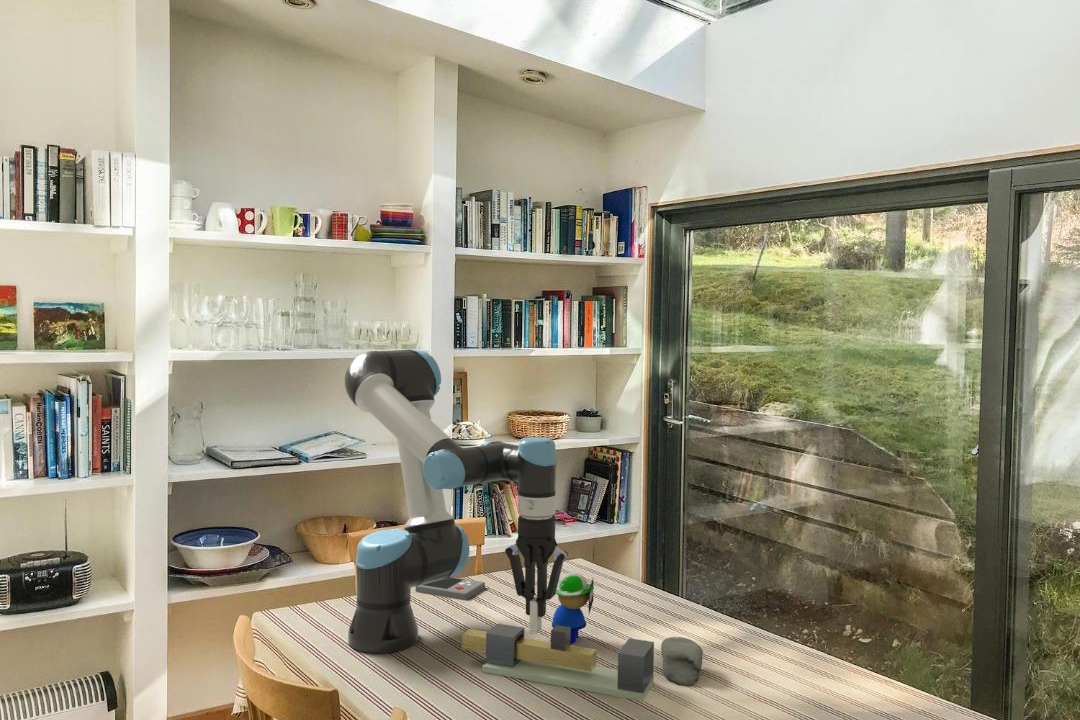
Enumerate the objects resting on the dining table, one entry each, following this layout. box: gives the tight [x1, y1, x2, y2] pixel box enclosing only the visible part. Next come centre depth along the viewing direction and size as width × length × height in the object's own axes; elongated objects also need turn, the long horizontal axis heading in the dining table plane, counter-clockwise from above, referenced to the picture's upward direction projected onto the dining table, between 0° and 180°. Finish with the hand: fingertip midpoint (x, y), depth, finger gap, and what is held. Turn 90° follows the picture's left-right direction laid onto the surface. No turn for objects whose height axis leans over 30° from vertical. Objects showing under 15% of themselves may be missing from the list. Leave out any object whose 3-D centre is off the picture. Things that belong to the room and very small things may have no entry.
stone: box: [660, 636, 704, 687], centre depth 172 cm, size 9×9×10 cm
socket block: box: [617, 637, 655, 694], centre depth 164 cm, size 5×8×7 cm, turn 159°
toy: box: [551, 571, 595, 645], centre depth 189 cm, size 9×9×15 cm
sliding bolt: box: [461, 625, 598, 672], centre depth 172 cm, size 28×3×7 cm, turn 69°
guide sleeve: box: [485, 623, 525, 668], centre depth 174 cm, size 6×6×6 cm
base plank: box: [481, 660, 655, 702], centre depth 170 cm, size 33×9×1 cm, turn 69°
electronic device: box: [415, 576, 486, 601], centre depth 222 cm, size 10×2×15 cm
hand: (535, 631), depth 172 cm, fingers closed
